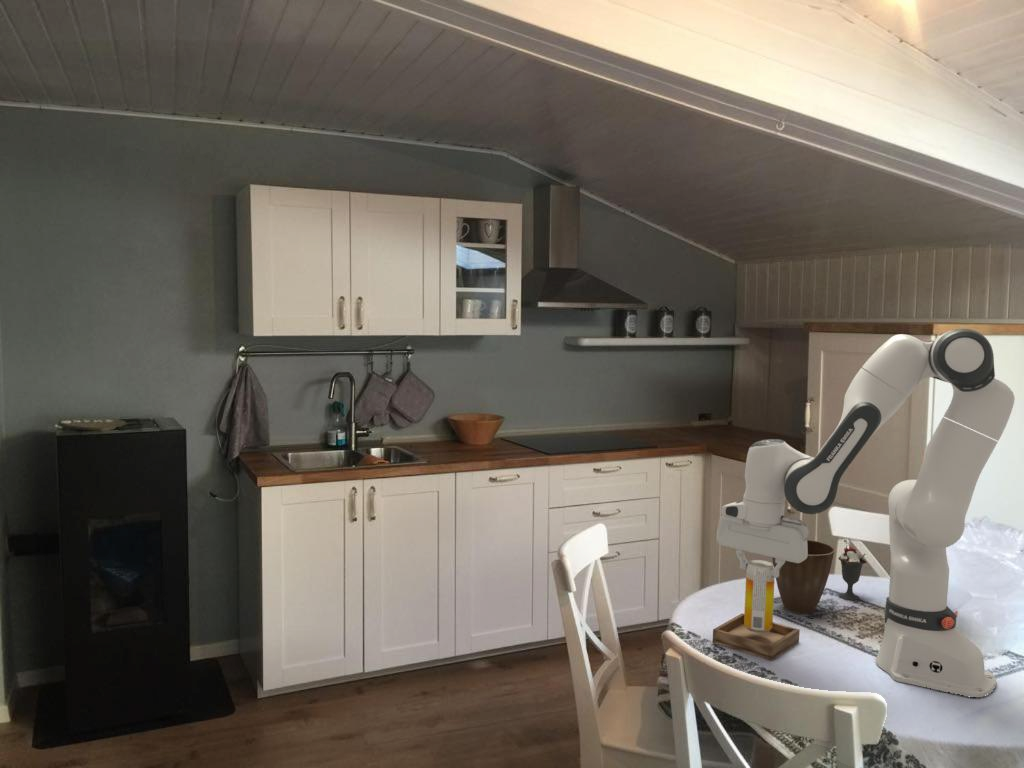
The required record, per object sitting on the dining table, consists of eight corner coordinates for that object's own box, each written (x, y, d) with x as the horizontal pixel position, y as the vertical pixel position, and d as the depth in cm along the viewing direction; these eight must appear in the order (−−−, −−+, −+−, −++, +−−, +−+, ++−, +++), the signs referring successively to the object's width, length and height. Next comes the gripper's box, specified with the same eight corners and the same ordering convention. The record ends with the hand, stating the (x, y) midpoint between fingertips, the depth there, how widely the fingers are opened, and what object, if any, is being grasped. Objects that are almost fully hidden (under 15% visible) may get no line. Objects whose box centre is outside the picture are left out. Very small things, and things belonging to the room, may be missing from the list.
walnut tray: (798, 642, 194) (799, 629, 194) (771, 660, 184) (772, 647, 184) (741, 625, 203) (742, 613, 203) (712, 642, 193) (713, 629, 193)
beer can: (770, 625, 195) (773, 560, 194) (773, 635, 189) (776, 568, 188) (742, 623, 196) (745, 558, 195) (744, 632, 190) (747, 565, 189)
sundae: (830, 593, 228) (833, 538, 226) (851, 591, 230) (855, 536, 228) (846, 602, 221) (850, 545, 220) (868, 600, 223) (872, 543, 222)
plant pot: (754, 604, 218) (758, 542, 216) (793, 594, 226) (797, 534, 225) (804, 623, 206) (808, 558, 204) (843, 612, 214) (847, 549, 212)
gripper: (815, 518, 186) (810, 581, 188) (728, 501, 200) (724, 559, 201) (803, 524, 181) (798, 587, 183) (715, 505, 195) (711, 565, 196)
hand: (759, 572), depth 192 cm, fingers closed on beer can, 6 cm apart
